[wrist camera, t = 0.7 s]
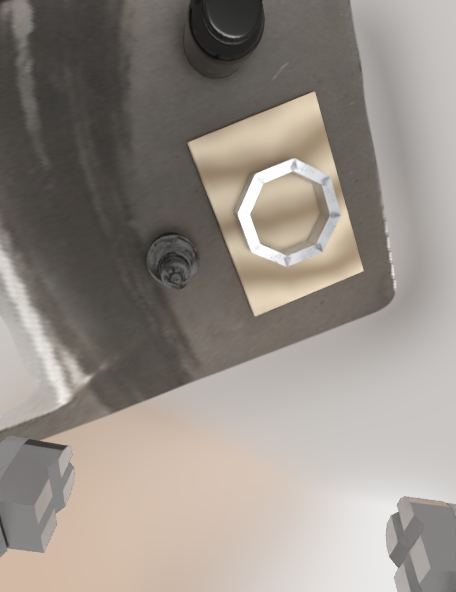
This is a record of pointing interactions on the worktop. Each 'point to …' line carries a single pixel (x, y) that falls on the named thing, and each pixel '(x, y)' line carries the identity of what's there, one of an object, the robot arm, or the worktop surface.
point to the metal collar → (322, 225)
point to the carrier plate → (276, 201)
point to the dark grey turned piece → (173, 260)
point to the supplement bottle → (222, 34)
